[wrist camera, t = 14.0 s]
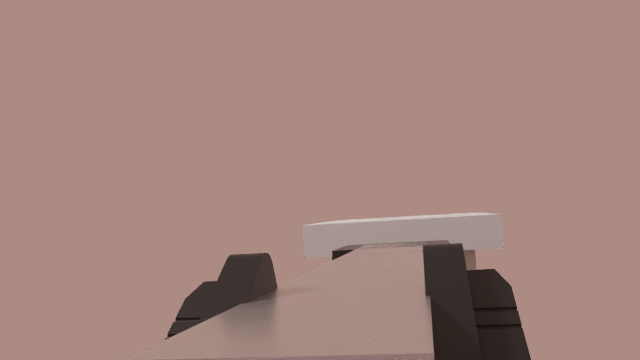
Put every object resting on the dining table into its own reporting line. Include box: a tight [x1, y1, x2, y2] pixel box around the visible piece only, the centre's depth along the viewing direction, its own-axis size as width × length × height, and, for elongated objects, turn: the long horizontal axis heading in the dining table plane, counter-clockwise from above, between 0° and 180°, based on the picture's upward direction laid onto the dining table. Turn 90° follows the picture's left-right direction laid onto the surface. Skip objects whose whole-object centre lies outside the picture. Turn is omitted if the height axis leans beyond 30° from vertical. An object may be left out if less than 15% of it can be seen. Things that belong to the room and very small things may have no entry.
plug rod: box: [124, 240, 451, 360], centre depth 18 cm, size 25×5×3 cm, turn 170°
